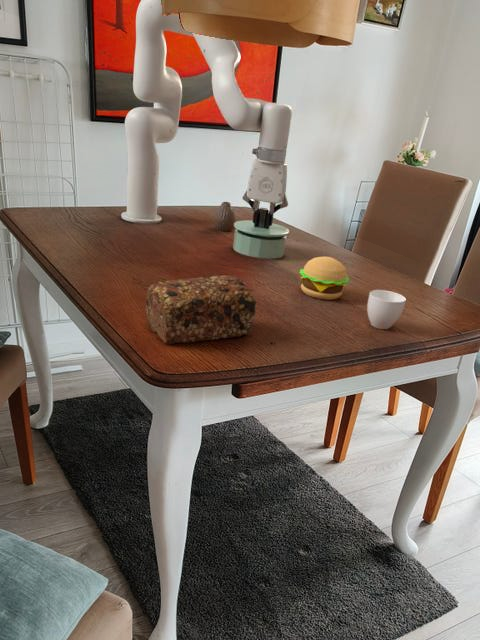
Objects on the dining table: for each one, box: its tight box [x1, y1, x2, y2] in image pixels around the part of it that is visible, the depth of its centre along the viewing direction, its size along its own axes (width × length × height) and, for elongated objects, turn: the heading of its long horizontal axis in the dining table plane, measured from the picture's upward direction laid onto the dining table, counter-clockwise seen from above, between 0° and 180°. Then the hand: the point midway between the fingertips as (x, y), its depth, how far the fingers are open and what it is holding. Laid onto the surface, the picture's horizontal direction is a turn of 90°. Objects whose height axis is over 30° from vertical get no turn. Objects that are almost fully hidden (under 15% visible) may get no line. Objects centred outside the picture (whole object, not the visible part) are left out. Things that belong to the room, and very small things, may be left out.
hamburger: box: [299, 256, 350, 301], centre depth 139 cm, size 12×12×9 cm
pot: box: [232, 228, 288, 260], centre depth 166 cm, size 15×15×6 cm
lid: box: [234, 207, 290, 237], centre depth 163 cm, size 16×16×6 cm
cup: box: [366, 289, 407, 330], centre depth 126 cm, size 8×10×7 cm
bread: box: [145, 274, 257, 345], centre depth 109 cm, size 19×11×10 cm, turn 118°
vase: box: [213, 201, 236, 233], centre depth 183 cm, size 7×7×9 cm
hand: (261, 226), depth 164 cm, fingers closed on lid, 2 cm apart
